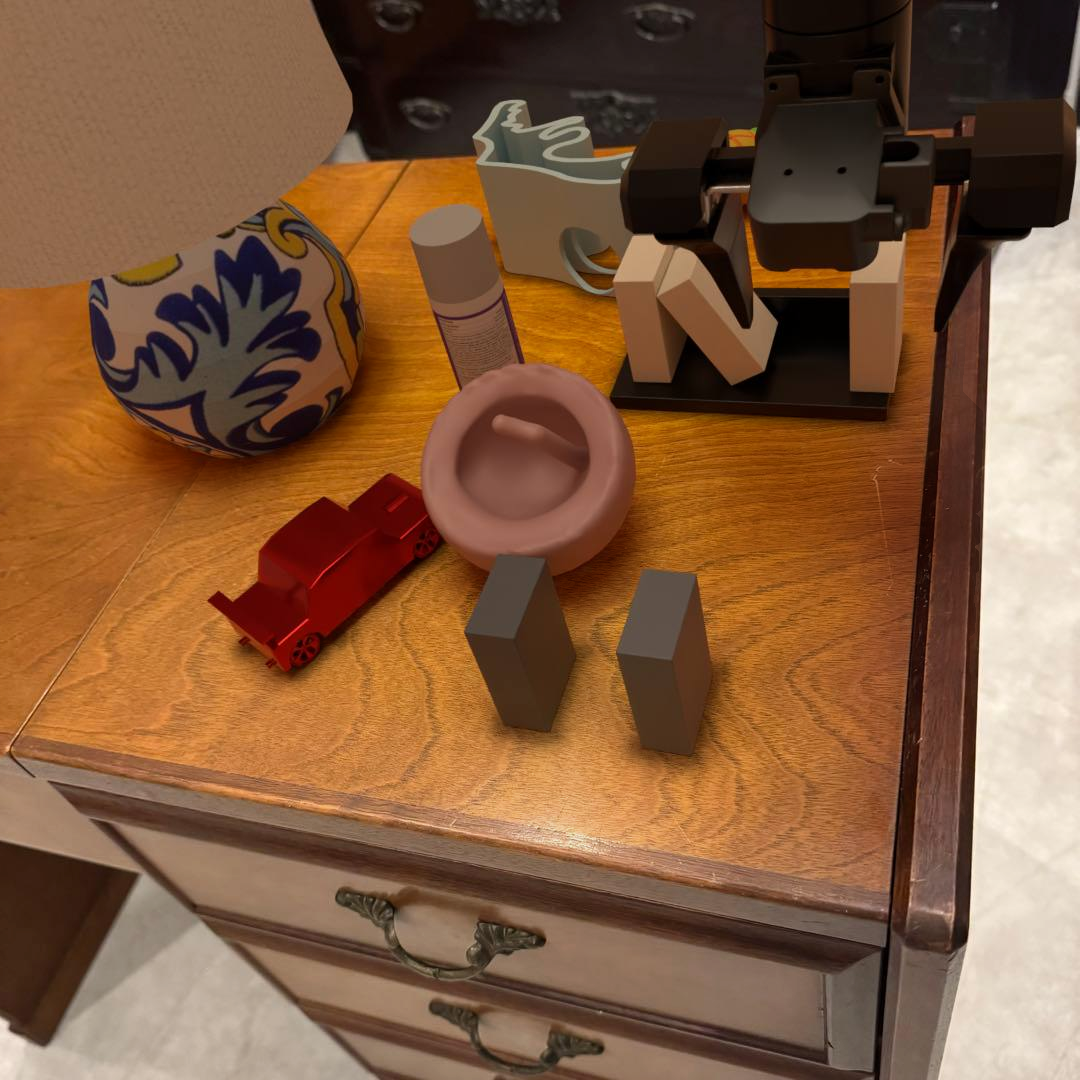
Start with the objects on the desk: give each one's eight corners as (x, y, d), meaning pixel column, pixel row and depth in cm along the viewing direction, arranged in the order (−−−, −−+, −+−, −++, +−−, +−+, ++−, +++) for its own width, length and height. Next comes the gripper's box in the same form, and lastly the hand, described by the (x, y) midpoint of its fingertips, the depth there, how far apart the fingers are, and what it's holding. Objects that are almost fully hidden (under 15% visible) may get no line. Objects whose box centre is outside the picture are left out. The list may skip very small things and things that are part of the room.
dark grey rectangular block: (577, 655, 58) (546, 557, 52) (549, 732, 55) (513, 638, 49) (532, 649, 59) (498, 553, 53) (503, 725, 56) (462, 632, 50)
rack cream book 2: (778, 322, 70) (706, 231, 66) (765, 371, 67) (689, 278, 63) (745, 337, 72) (674, 249, 68) (731, 386, 68) (655, 296, 65)
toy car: (288, 688, 61) (252, 635, 57) (234, 644, 64) (198, 591, 60) (460, 533, 66) (438, 477, 63) (403, 500, 69) (379, 444, 66)
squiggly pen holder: (463, 266, 87) (430, 161, 80) (529, 202, 92) (504, 98, 85) (653, 305, 78) (634, 190, 71) (716, 232, 83) (704, 117, 76)
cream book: (902, 342, 68) (906, 232, 62) (893, 393, 65) (897, 282, 59) (859, 341, 69) (860, 232, 63) (849, 391, 66) (849, 282, 60)
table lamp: (103, 354, 90) (-246, -198, 61) (409, 253, 90) (204, -340, 62) (85, 578, 71) (-433, -71, 42) (472, 448, 71) (219, -278, 43)
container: (483, 394, 75) (422, 204, 64) (546, 395, 73) (494, 200, 63) (462, 440, 72) (395, 248, 61) (527, 442, 71) (469, 245, 60)
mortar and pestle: (430, 619, 62) (366, 478, 54) (479, 474, 69) (429, 332, 61) (634, 625, 58) (598, 475, 50) (661, 472, 66) (634, 321, 58)
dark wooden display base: (899, 339, 70) (901, 287, 67) (886, 421, 65) (888, 369, 62) (640, 333, 76) (632, 286, 73) (611, 408, 71) (600, 360, 68)
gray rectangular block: (713, 673, 55) (697, 573, 49) (692, 756, 52) (672, 660, 46) (664, 667, 56) (642, 567, 50) (641, 748, 53) (615, 652, 47)
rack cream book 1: (688, 336, 73) (671, 233, 67) (671, 383, 70) (652, 280, 64) (651, 335, 74) (632, 235, 68) (633, 382, 71) (611, 281, 65)
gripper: (553, 117, 40) (619, 425, 51) (1105, 85, 34) (1043, 447, 45) (628, -8, 47) (671, 288, 58) (1100, -55, 40) (1047, 289, 52)
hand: (840, 325), depth 53 cm, fingers open, 9 cm apart
